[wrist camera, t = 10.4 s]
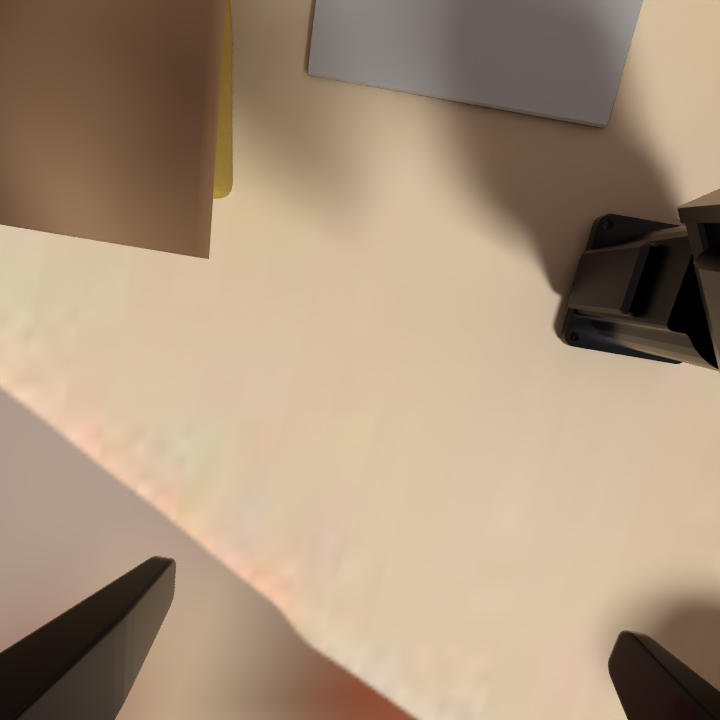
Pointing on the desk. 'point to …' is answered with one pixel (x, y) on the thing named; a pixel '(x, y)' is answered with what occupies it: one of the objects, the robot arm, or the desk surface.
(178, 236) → the lid
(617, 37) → the tray
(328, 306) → the desk surface
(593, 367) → the desk surface
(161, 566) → the robot arm
